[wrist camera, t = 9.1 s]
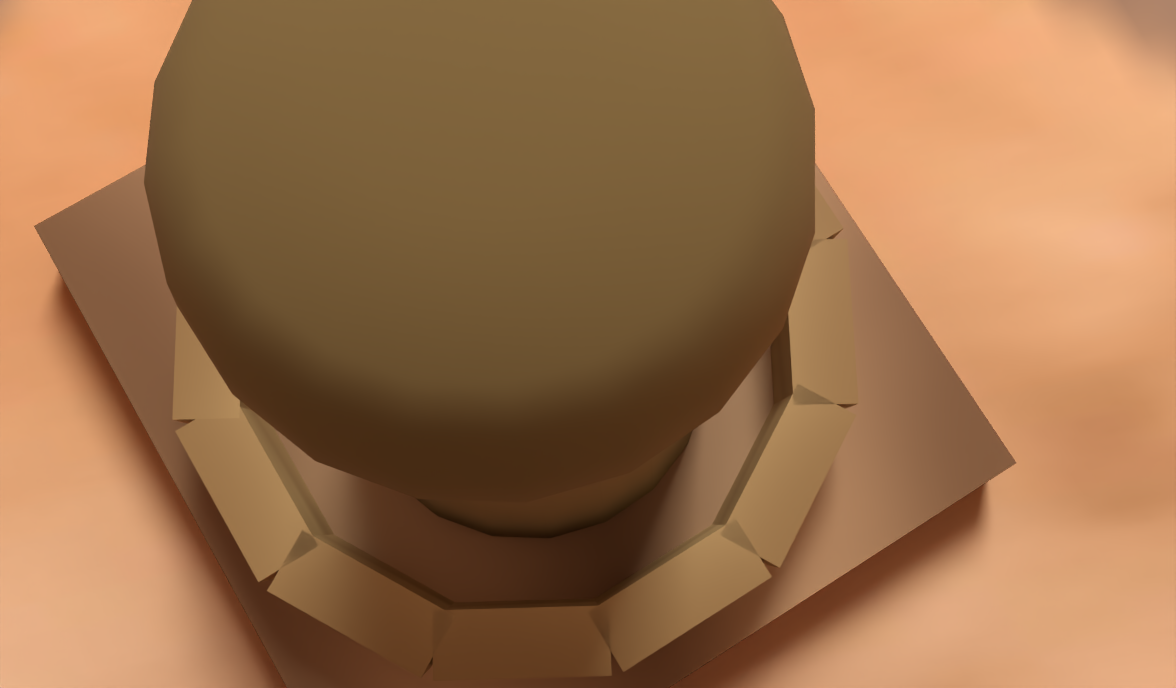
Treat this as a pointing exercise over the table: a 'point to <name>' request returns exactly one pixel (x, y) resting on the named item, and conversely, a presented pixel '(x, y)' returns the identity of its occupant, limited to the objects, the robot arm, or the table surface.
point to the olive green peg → (485, 233)
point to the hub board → (573, 560)
